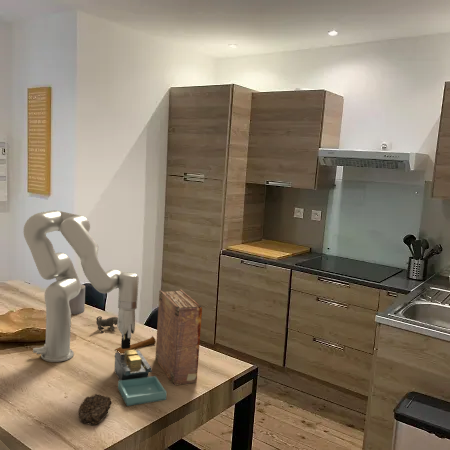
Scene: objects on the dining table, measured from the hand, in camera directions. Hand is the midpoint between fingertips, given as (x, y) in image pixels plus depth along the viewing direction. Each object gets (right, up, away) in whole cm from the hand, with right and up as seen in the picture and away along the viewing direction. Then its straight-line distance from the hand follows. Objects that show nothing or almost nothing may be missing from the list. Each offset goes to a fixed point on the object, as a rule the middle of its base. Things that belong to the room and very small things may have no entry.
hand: (125, 347), depth 189 cm
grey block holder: (+4, -9, -9) cm, 13 cm away
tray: (+10, -11, -21) cm, 26 cm away
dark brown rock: (-3, -12, -37) cm, 39 cm away
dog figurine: (-16, -1, +38) cm, 42 cm away
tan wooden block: (+6, -3, -12) cm, 14 cm away
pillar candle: (-40, +3, +61) cm, 73 cm away
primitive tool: (+1, -6, +19) cm, 20 cm away
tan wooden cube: (+4, -3, -7) cm, 8 cm away
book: (+20, -9, 0) cm, 22 cm away
